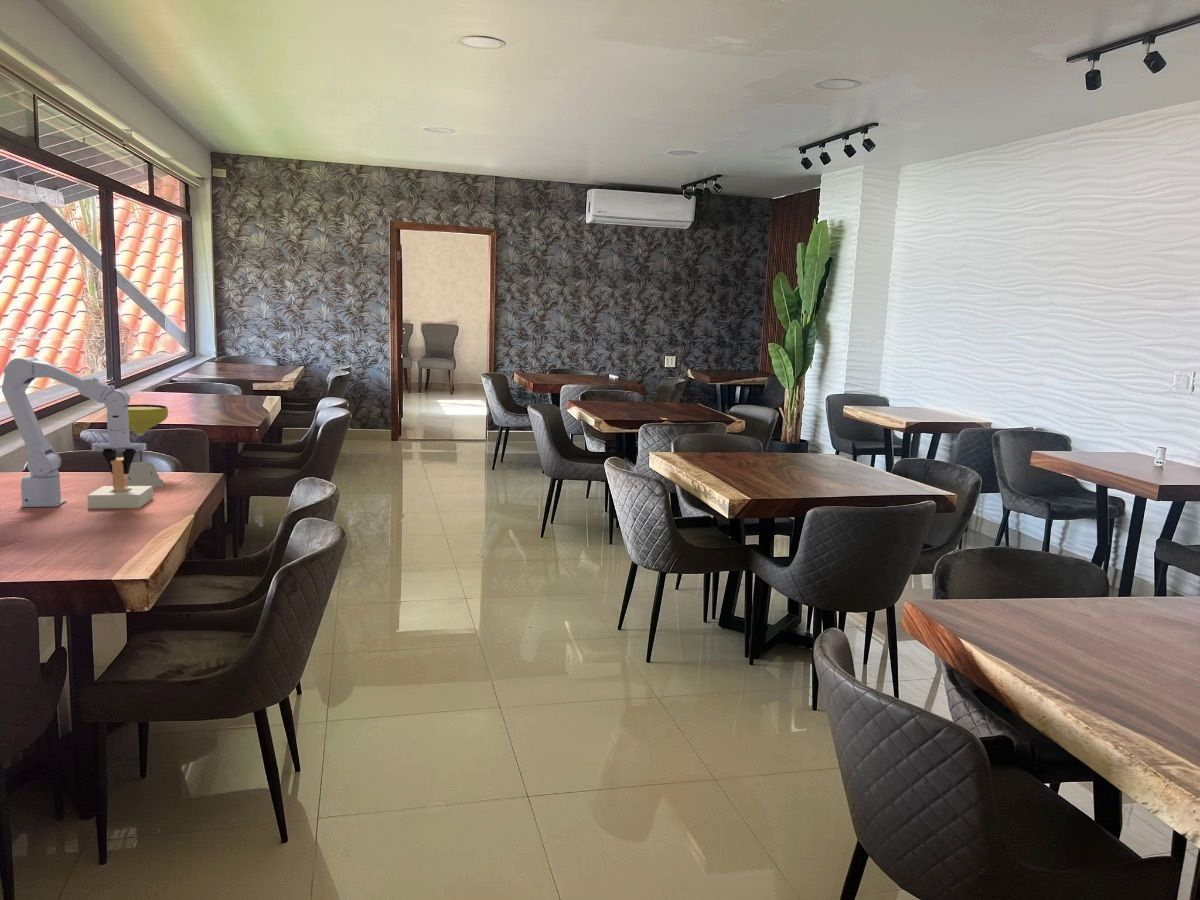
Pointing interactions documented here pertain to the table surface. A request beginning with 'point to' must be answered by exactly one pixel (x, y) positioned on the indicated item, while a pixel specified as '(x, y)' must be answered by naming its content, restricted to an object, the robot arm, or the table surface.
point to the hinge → (143, 475)
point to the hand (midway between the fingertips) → (120, 473)
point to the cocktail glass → (145, 418)
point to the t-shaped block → (119, 474)
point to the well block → (120, 497)
